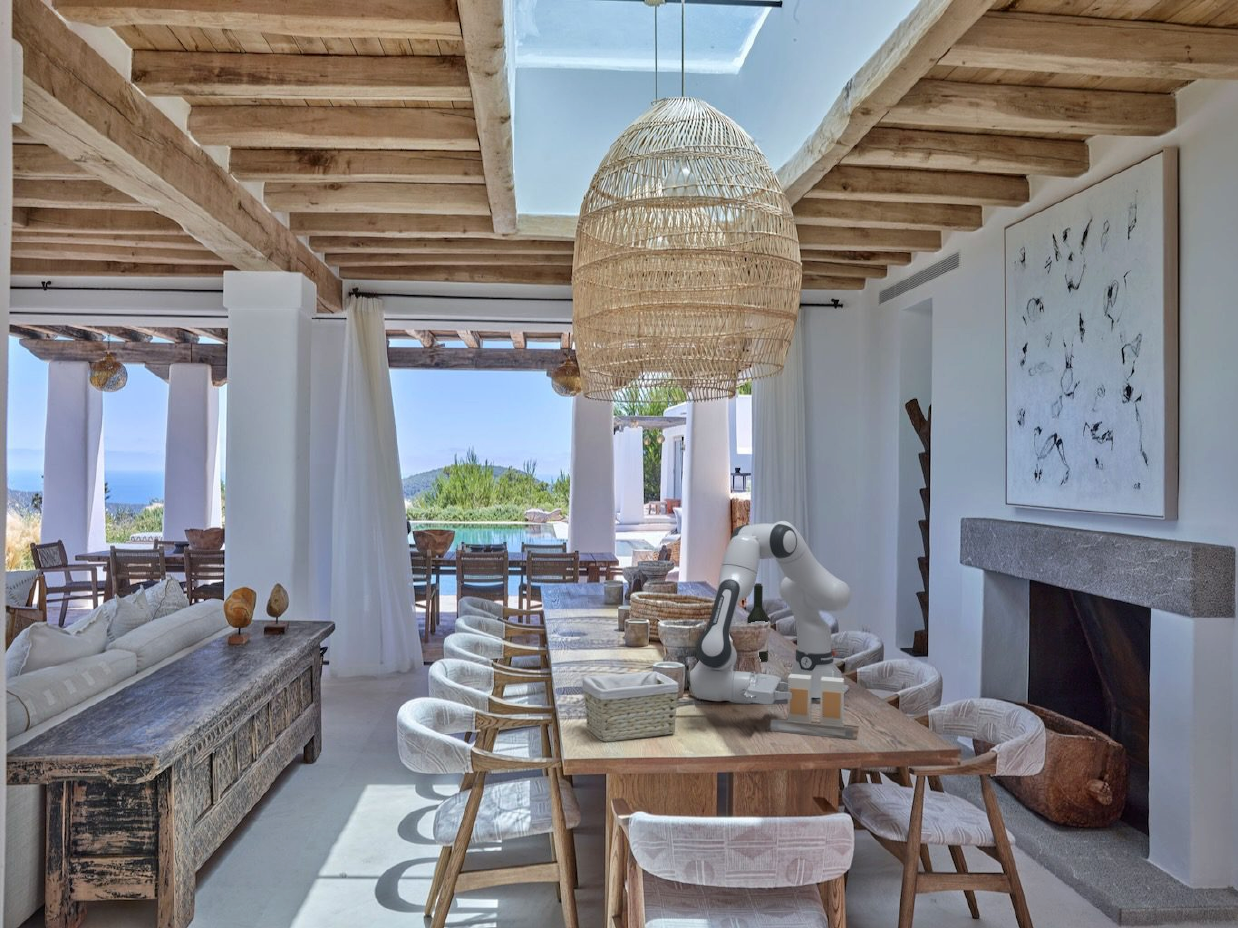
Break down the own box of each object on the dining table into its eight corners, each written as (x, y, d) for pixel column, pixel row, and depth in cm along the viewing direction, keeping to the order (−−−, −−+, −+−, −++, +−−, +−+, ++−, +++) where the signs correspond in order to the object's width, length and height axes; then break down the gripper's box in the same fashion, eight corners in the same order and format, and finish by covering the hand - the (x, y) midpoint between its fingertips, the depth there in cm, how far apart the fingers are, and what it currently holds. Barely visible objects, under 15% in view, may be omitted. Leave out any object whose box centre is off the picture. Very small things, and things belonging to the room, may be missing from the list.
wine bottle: (765, 658, 347) (766, 582, 347) (770, 662, 338) (771, 585, 339) (744, 657, 346) (745, 582, 347) (748, 662, 338) (749, 584, 338)
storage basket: (598, 744, 231) (599, 689, 232) (579, 728, 246) (580, 675, 247) (680, 736, 240) (681, 682, 240) (656, 720, 255) (657, 670, 255)
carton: (821, 726, 246) (822, 676, 246) (843, 728, 244) (844, 678, 245) (820, 731, 241) (820, 680, 241) (842, 733, 239) (842, 682, 240)
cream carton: (789, 722, 249) (790, 673, 249) (811, 724, 247) (811, 675, 248) (787, 727, 244) (788, 677, 244) (809, 729, 242) (809, 679, 242)
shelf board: (773, 722, 254) (773, 707, 254) (858, 731, 247) (859, 715, 247) (766, 736, 241) (767, 719, 241) (856, 745, 234) (856, 728, 234)
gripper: (739, 684, 240) (789, 688, 236) (750, 669, 260) (797, 673, 256) (738, 707, 240) (789, 712, 236) (750, 690, 260) (797, 694, 256)
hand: (793, 691), depth 246 cm, fingers open, 8 cm apart
